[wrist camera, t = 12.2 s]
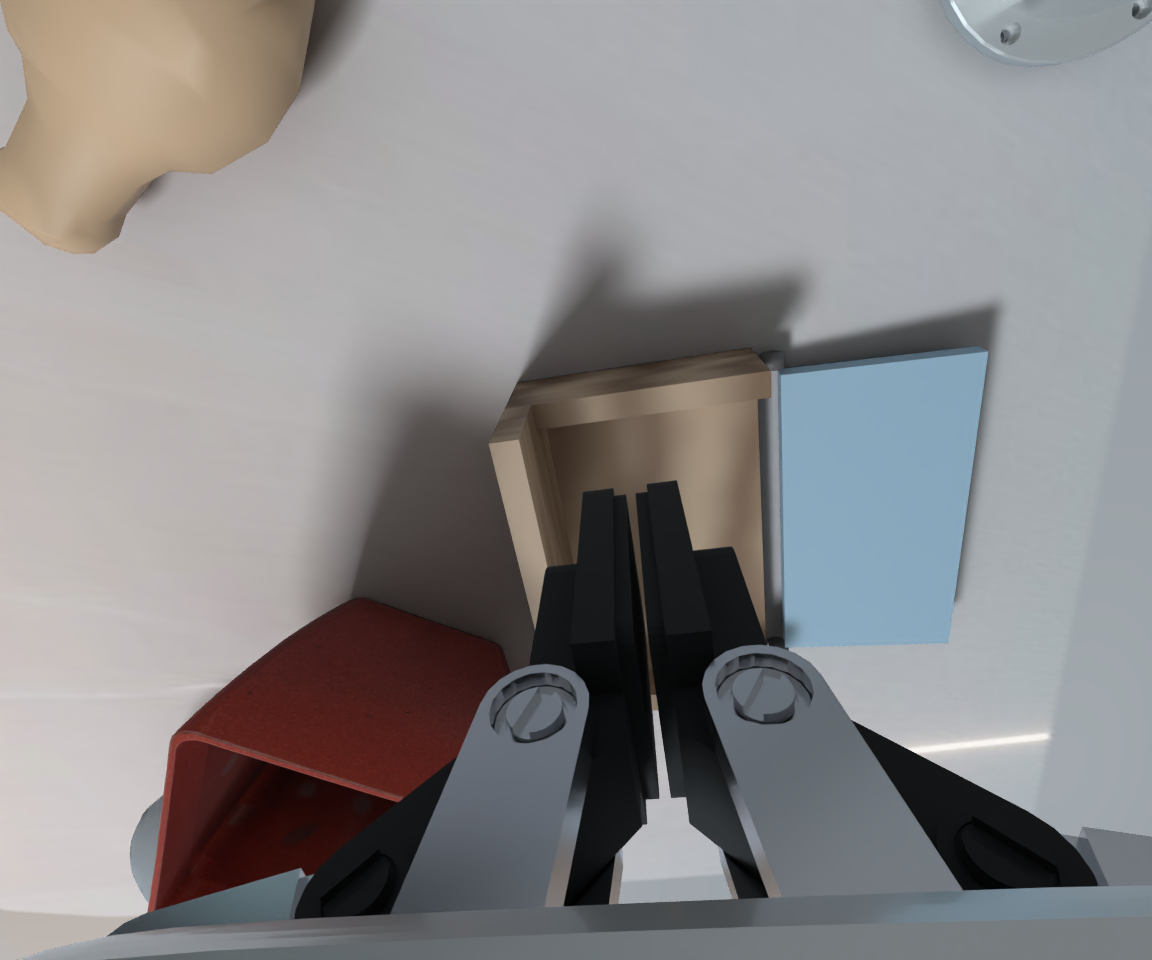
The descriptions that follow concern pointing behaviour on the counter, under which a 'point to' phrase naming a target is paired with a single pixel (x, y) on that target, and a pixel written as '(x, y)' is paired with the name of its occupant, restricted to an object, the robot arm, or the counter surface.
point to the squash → (139, 102)
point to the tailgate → (875, 495)
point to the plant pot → (314, 746)
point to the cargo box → (637, 458)
